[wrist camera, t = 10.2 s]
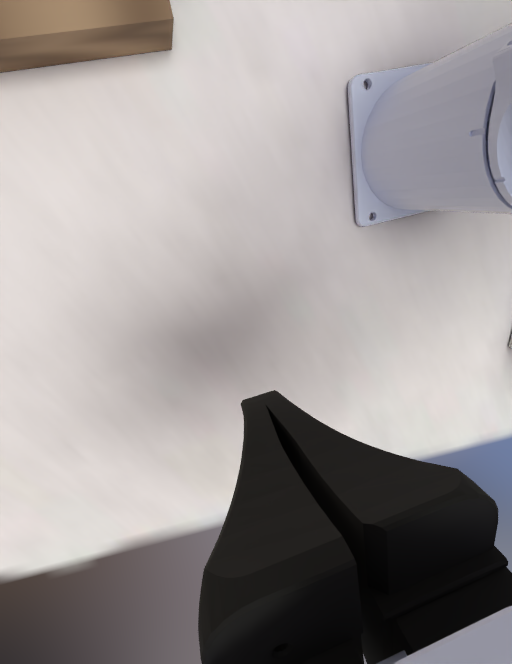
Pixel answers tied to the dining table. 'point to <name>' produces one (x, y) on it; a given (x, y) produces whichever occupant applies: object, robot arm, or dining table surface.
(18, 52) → the open wooden frame
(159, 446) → the dining table surface
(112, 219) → the dining table surface
